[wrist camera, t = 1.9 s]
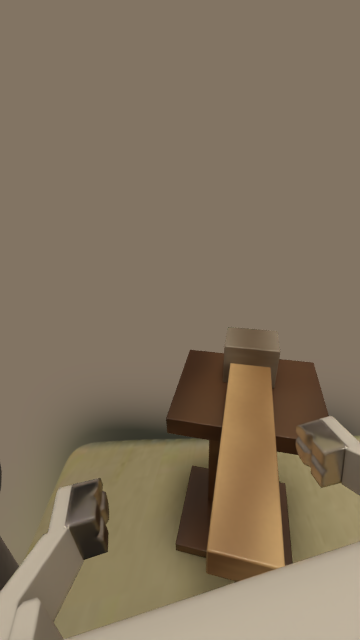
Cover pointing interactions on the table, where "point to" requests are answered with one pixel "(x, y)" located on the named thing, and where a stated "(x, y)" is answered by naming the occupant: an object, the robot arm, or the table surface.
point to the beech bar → (247, 463)
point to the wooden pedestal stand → (206, 423)
